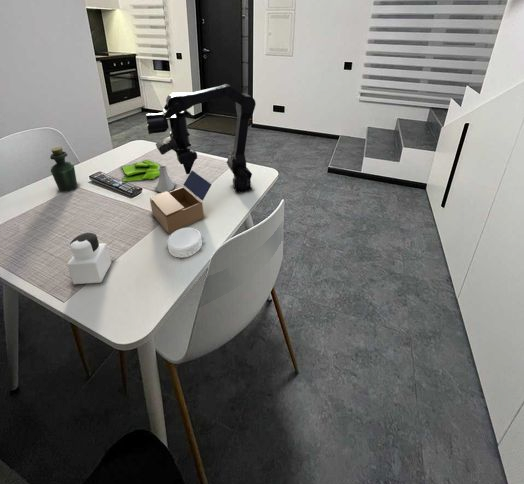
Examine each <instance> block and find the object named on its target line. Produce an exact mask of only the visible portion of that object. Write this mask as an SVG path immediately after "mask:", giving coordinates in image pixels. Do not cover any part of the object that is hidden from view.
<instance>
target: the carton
mask: <svg viewBox="0 0 524 484" xmlns="http://www.w3.org/2000/svg"><path fill="white" fill-rule="evenodd" d="M149 203H150V209H151V215H152V216H153V217H154V218H155V219H156V220H157V222H158V223H159V224H160V226H162V228H163V229H164V231H166V232H167V234H168V235H171V234H172V233H173V232H175V231H176V230H178V229H181V228H186V227H187V226H189V225H191V224H193V223H196V222H198V221H200V220H202V219H204V217H205V215H204V205H203V202H202V200H201V199H200V198H198V197H197V196H196V195H195V194H194V193H192V192H191V191H190V190H189V189H188V188H186V187H185V186H182V187H181V186H180V187H179V188H175V189H172V190H171V191H169V192H168V191H165V192H159V193H157V194H154V195H152V196H150V197H149Z"/></svg>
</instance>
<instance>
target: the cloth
mask: <svg viewBox="0 0 524 484" xmlns="http://www.w3.org/2000/svg"><path fill="white" fill-rule="evenodd" d="M160 166H161V165H160V164H158V163H157V162H154V161H151V160H147V159H144V160H143V161H142V162H141V161H140V162H135V163H134V164H130V165H126V166H122V167H121V168H122V170H123V173H124V174H125V177H124V178H122V182H135V181H136V182H137V181H146V180H155V179H156V178H159V174H160V172H159V169H158V168H159V167H160Z"/></svg>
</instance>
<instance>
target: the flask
mask: <svg viewBox="0 0 524 484" xmlns="http://www.w3.org/2000/svg"><path fill="white" fill-rule="evenodd" d="M159 166H160V167H159V168H158V169H159V172H160V174H159V176H158V181H157V186H156V189H155V191H156V192H159V193H163V192H165V191H168V192H171V191H173V190H175V189H174V188H175V183H174V182H173V180H172V179H171V177H170V175H169V173H168V171H167V168H168V166H167V165H159Z"/></svg>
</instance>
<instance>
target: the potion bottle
mask: <svg viewBox="0 0 524 484" xmlns="http://www.w3.org/2000/svg"><path fill="white" fill-rule="evenodd" d="M50 151H51V152H52V153H51V154H50V156H49V157H50V160H51V161H52V160H53V161H55V164H53V165H52V166H51V168H50V173H51V175H52V177H53V179H54V181H55V184H56V186H57V188H58V190H59V191H60V192H64V193H65V192H70V191H72V190H75V189H76V188H77V187H78V182H77V175H76V170H75V164H74V163H73V162H71V161H66V158H67V157H68V152H66V151H63V147H62V146H56V147H53V148H51V149H50Z"/></svg>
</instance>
